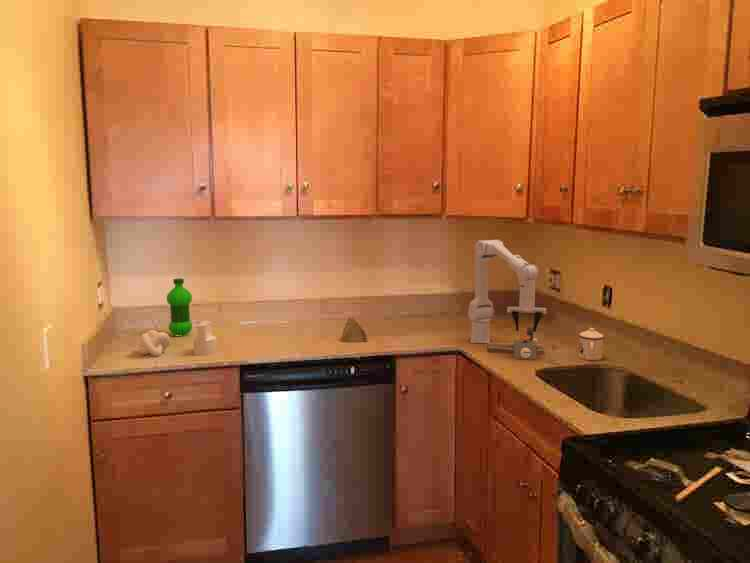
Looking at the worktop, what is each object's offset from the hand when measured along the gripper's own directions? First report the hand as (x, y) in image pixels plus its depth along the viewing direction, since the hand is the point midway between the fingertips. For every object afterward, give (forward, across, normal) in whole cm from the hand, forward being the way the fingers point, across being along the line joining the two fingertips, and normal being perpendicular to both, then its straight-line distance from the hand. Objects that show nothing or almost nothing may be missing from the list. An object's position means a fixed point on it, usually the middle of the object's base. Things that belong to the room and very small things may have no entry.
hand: (525, 331), depth 243 cm
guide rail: (+9, -3, +9) cm, 13 cm away
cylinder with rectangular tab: (+11, -125, -14) cm, 126 cm away
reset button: (+4, 0, 0) cm, 4 cm away
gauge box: (+10, 0, 0) cm, 10 cm away
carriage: (+9, +2, +9) cm, 13 cm away
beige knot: (+11, -145, -20) cm, 147 cm away
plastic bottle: (+11, -148, +12) cm, 149 cm away
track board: (+10, -3, +10) cm, 14 cm away
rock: (+11, -70, +14) cm, 72 cm away
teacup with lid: (+11, +25, +2) cm, 27 cm away
